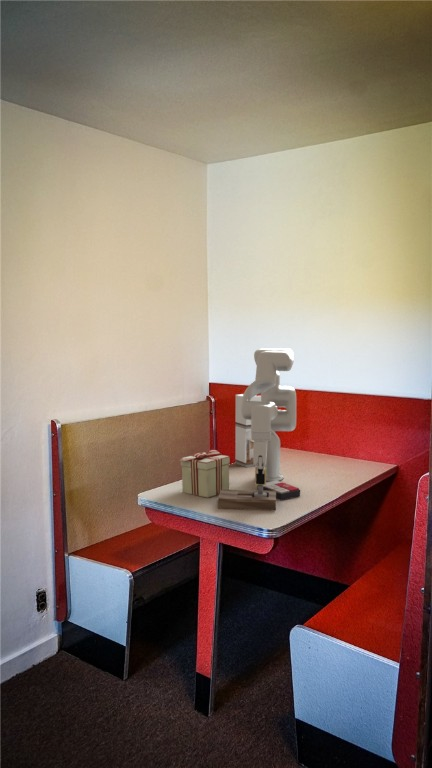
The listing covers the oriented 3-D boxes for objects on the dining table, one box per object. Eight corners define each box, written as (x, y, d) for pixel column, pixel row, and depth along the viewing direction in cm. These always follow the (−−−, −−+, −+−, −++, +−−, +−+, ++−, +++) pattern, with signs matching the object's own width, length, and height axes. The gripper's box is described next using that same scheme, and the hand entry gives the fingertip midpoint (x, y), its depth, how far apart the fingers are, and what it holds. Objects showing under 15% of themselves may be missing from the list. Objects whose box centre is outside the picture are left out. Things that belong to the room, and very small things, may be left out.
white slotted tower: (246, 467, 304) (246, 396, 300) (235, 463, 313) (235, 394, 310) (265, 464, 309) (266, 395, 305) (254, 460, 318) (255, 393, 315)
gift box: (196, 484, 272) (196, 445, 271) (231, 490, 262) (231, 450, 260) (172, 492, 258) (172, 452, 257) (208, 500, 248) (208, 457, 246)
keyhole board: (221, 499, 249) (221, 489, 249) (275, 500, 247) (275, 490, 246) (218, 508, 236) (218, 498, 236) (275, 510, 234) (275, 500, 234)
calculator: (281, 492, 247) (257, 482, 259) (280, 502, 247) (256, 492, 259) (301, 488, 253) (276, 478, 265) (300, 498, 254) (276, 488, 266)
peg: (254, 495, 243) (254, 466, 242) (266, 495, 243) (267, 467, 242) (253, 499, 238) (253, 469, 237) (266, 499, 238) (266, 470, 237)
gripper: (252, 432, 247) (251, 477, 248) (250, 439, 230) (249, 487, 232) (270, 432, 246) (270, 477, 248) (270, 440, 230) (269, 488, 231)
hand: (260, 482), depth 240 cm, fingers closed on peg, 4 cm apart
